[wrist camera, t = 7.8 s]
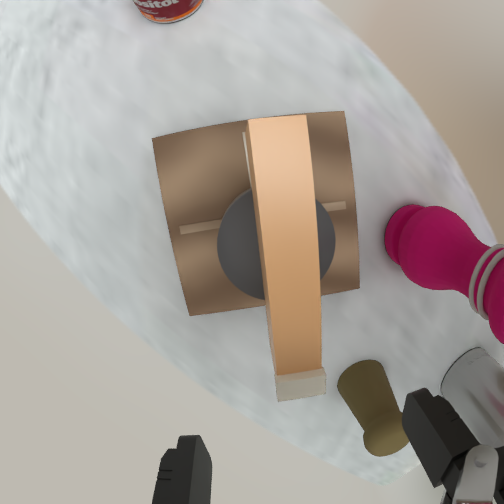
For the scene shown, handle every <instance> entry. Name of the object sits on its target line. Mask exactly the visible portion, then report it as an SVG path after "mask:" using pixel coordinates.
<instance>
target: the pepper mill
mask: <svg viewBox="0 0 504 504" xmlns="http://www.w3.org/2000/svg"><path fill="white" fill-rule="evenodd" d="M385 246H386V250H387V253H388V255H389V256H390V258H391V259H392V260H393V261H394V262H395V263H397V264H398V265H400V266H401V268H402V270H403V272H404V273H405V275H406V276H407V277H408V278H409V279H410V280H411V281H413V282H414V283H416V284H418V285H419V286H421V287H424V288H428V289H432V290H456V291H459V292H460V293H462V294H464V295H465V296H466V297H468V298H469V302H470V305H471V307H472V309H473V310H474V311H475V312H476V313H478V314H480V315H481V316H482V317H483V318H484V319H486V320H489V324H490V328H491V330H492V332H493V334H494V335H495V337H496V338H497V339H498V340H499V341H500V342H501V343H502V344H504V245H503V244H498V245H494V246H493V247H489V246H487V245H485V244H483V243H482V242H481V241H479V240H478V239H477V238H476V236H475V235H474V234H473V232H472V231H471V229H470V228H469V227H468V225H467V224H466V223H465V222H464V220H462V219H461V218H460V217H459V216H458V215H457V214H456V213H454V212H452V211H450V210H448V209H446V208H444V207H440V206H429V207H422V206H419V205H407V206H404V207H402V208H400V209H399V210H398V211H397V212H396V213H394V215H393V216H392V217H391V219H390V220H389V223H388V225H387V228H386V232H385Z"/></svg>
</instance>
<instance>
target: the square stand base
mask: <svg viewBox="0 0 504 504" xmlns="http://www.w3.org/2000/svg"><path fill="white" fill-rule="evenodd" d="M294 115H306V118H307V126H308V134H309V143H310V152H311V161H312V171H313V181H314V193H315V199H317V200H318V201H319V202H320V203H321V204H322V205H323V207H324V208H325V209H326V211H327V212H328V214H329V216H330V218H331V220H332V223H333V226H334V230H335V238H336V245H335V253H334V257H333V260H332V263H331V265H330V267H329V269H328V271H327V272H326V274H325V275H324V277H323V278H322V279H321V280H320V293H321V296H322V295H327V294H333V293H338V292H343V291H348V290H353V289H358V288H360V278H359V248H358V229H357V214H356V202H355V191H354V181H353V171H352V163H351V154H350V147H349V140H348V133H347V126H346V119H345V113H344V111H335V112H318V113H304V114H293V115H283V116H294ZM274 117H279V116H274ZM265 118H268V117H265ZM247 122H248V120H243V121H237V122H230V123H224V124H218V125H213V126H207V127H202V128H197V129H192V130H187V131H182V132H177V133H173V134H168V135H164V136H160V137H156V138H152V142H153V148H154V154H155V160H156V166H157V172H158V178H159V183H160V189H161V194H162V199H163V204H164V209H165V214H166V219H167V224H168V229H169V233H170V238H171V242H172V247H173V251H174V256H175V260H176V264H177V268H178V273H179V277H180V281H181V285H182V289H183V293H184V297H185V300H186V304H187V308H188V312H189V315H190V316H194V315H202V314H209V313H217V312H224V311H231V310H238V309H245V308H251V307H258V306H264V305H265V300H261V299H258V298H254V297H252V296H250V295H247V294H246V293H244V292H242V291H241V290H239V289H238V288H237V287H236V286H235V285H234V284H233V283H232V282H231V281H230V280H229V279H228V277H227V276H226V275H225V273H224V271H223V269H222V267H221V264H220V262H219V258H218V253H217V237H218V232H219V228H220V225H221V221H222V218H223V216H224V214H225V212H226V210H227V208H228V207H229V205H230V204H231V203H232V202H233V200H234V199H235V198H236V197H238V196H239V195H240V194H241V193H243V192H244V191H246V190H247V189H250V188H252V186H251V178H250V170H249V161H248V153H247V145H246V137H245V131H246V127H247Z"/></svg>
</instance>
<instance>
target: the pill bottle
mask: <svg viewBox="0 0 504 504" xmlns="http://www.w3.org/2000/svg"><path fill="white" fill-rule="evenodd" d="M133 1H134V3H135V4H136V6H137V7H138V9H139V10H140V12H141V13H142V14H143V15H144V16H145V17H146V18H147V19H149V20H151V21H153V22H157V23H171V22H175V21H179V20H182V19H184V18H186V17H188V16H190V15H191V14H193V13H194V12H195V11H196V10H197V9H198V8H199V6H200V5H201V3H202V1H203V0H133Z"/></svg>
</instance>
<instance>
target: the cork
mask: <svg viewBox="0 0 504 504" xmlns="http://www.w3.org/2000/svg"><path fill="white" fill-rule="evenodd" d="M337 387H338V391H339V393H340V394H341V396H342V397H343V399H344V400H345V402H346V403H347V405H348V406H349V408H350V410H351V411H352V413H353V414H354V416H355V417H356V419H357V420H358V422H359V423H360V425H361V427H362V428H363V430H364V431H365V432H364V435H363V440H364V445H365V448H366V449H367V450H368V452H370V453H371V454H372V455H374V456H379V457H380V456H387V455H391V454H393V453H395V452H397V451H399V450H401V449H402V448H403V447H404V446H406V445H407V443H408V442H409V439H408V437H407V436H406V434H405V432H404V430H403V427H402V414H403V413H402V412H400V410H399V407H398V405H397V402H396V399H395V397H394V394H393V391H392V389H391V386H390V383H389V381H388V378H387V376H386V373H385V371H384V368H383V366H382V365H381V363H379V362H377V361H375V360H364V361H360V362H358V363H355V364H353V365H352V366H350V367H349V368H347V369H346V370H345V371H344V372H343V373H342V375H341V376H340V378H339V380H338V385H337Z"/></svg>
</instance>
